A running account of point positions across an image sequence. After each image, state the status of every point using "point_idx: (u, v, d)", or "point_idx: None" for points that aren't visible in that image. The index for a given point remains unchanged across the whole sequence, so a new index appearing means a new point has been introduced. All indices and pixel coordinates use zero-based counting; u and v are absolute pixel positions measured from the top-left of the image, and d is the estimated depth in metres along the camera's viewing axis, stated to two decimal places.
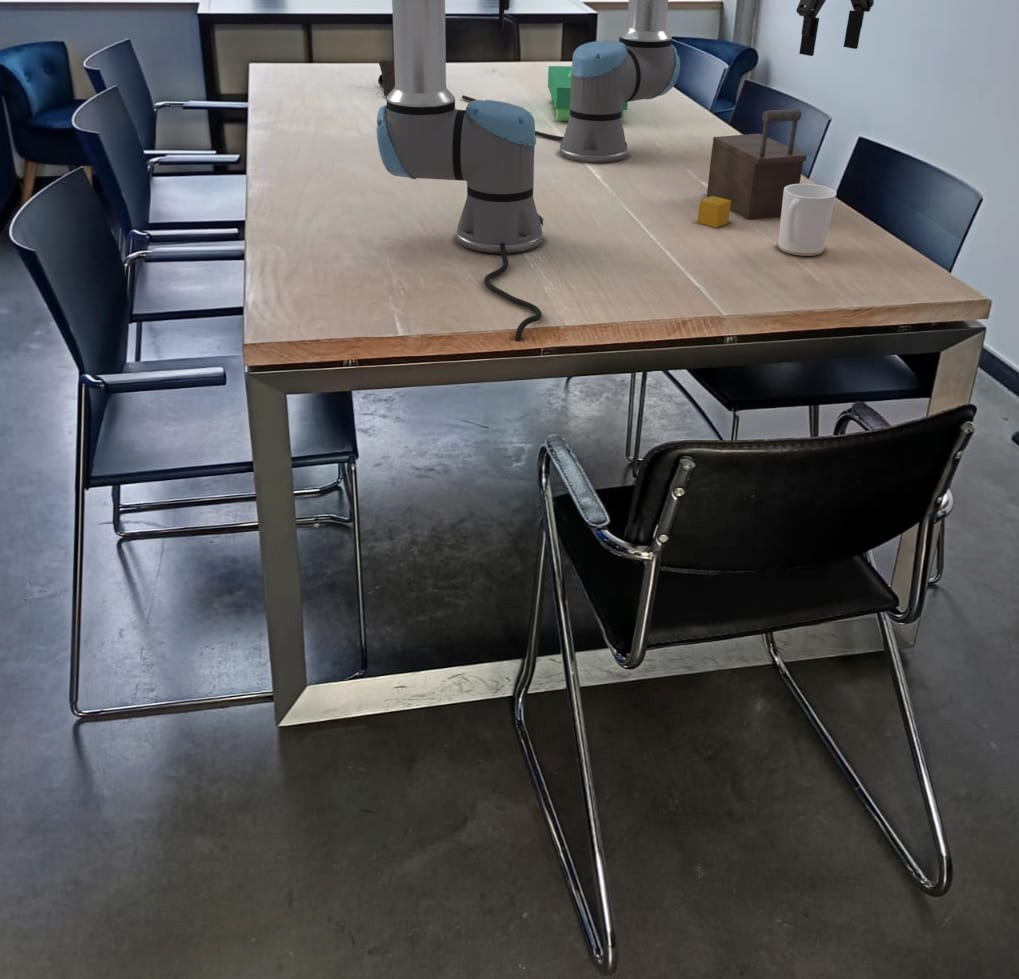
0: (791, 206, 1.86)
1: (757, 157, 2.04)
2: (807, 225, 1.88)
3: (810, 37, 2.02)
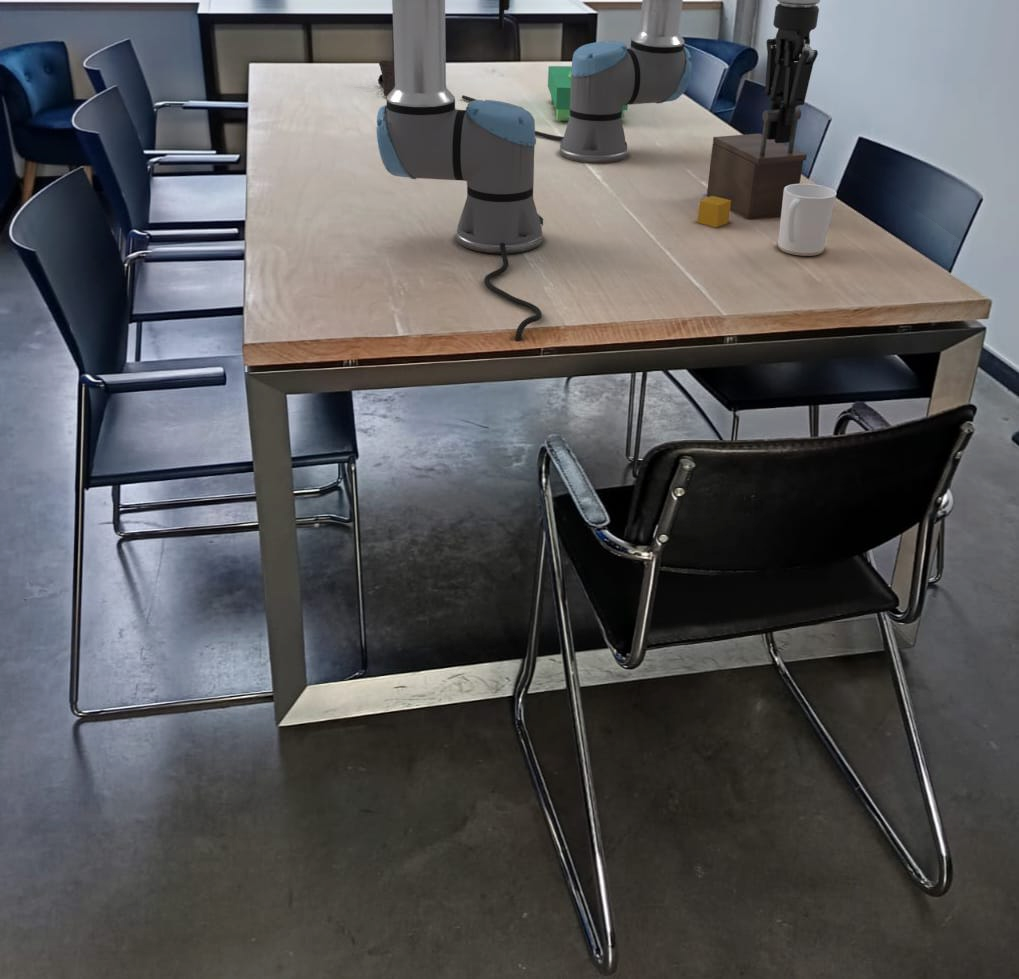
0: (791, 206, 1.86)
1: (757, 156, 2.03)
2: (807, 225, 1.88)
3: (788, 125, 2.02)
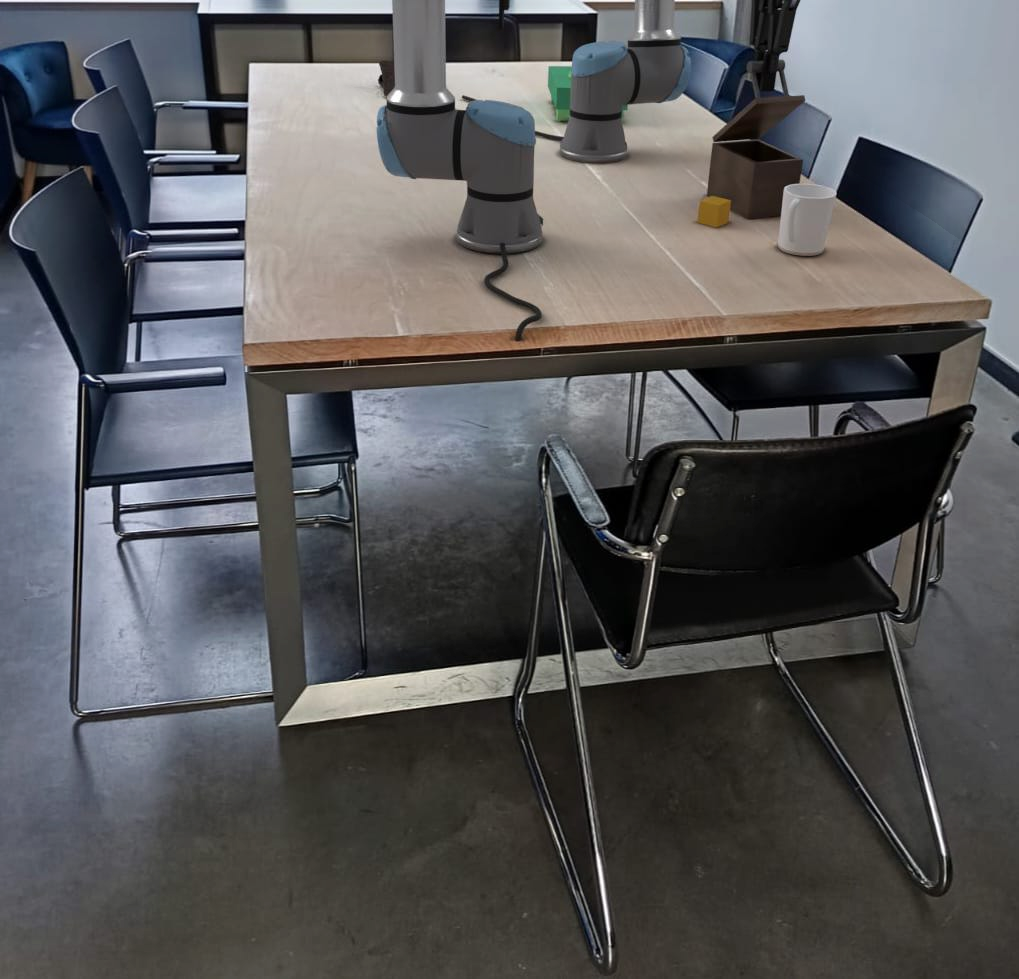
0: (791, 206, 1.86)
1: None
2: (807, 225, 1.88)
3: (773, 73, 2.04)
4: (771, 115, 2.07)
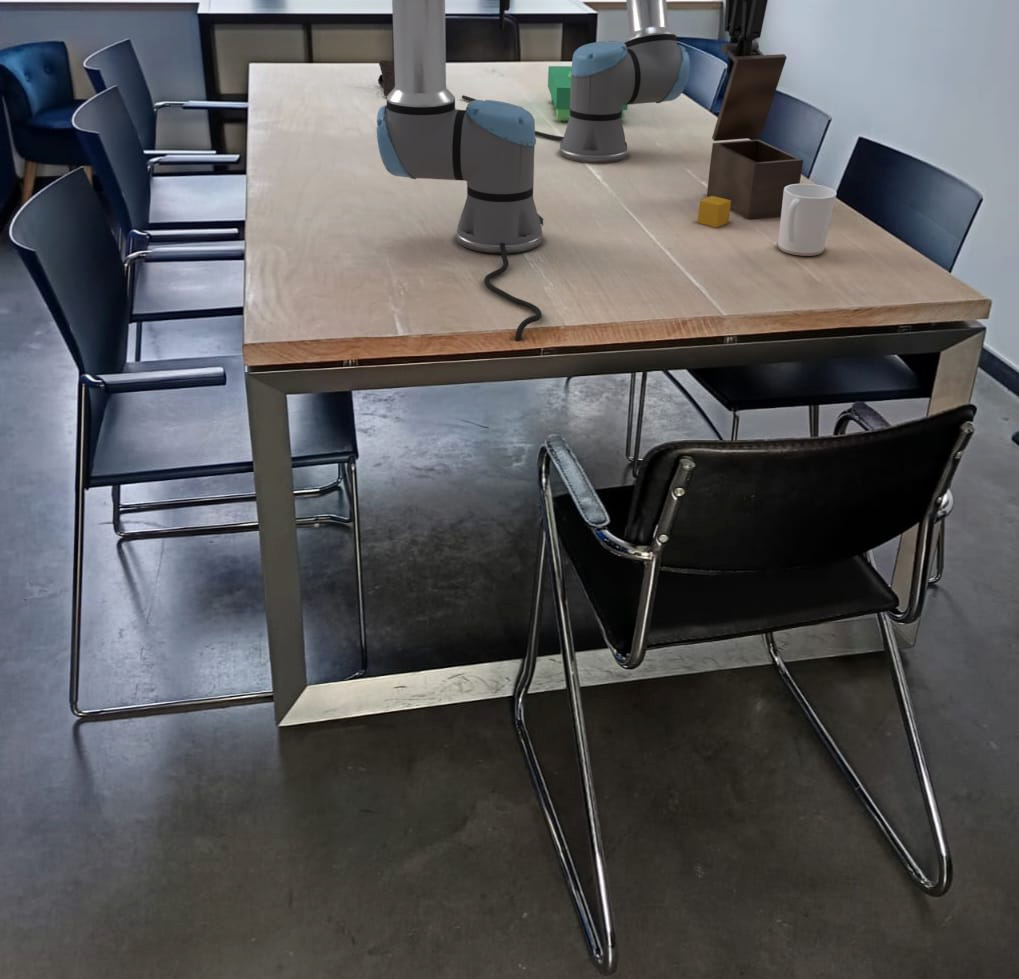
0: (791, 206, 1.86)
1: None
2: (807, 225, 1.88)
3: None
4: (759, 85, 2.10)
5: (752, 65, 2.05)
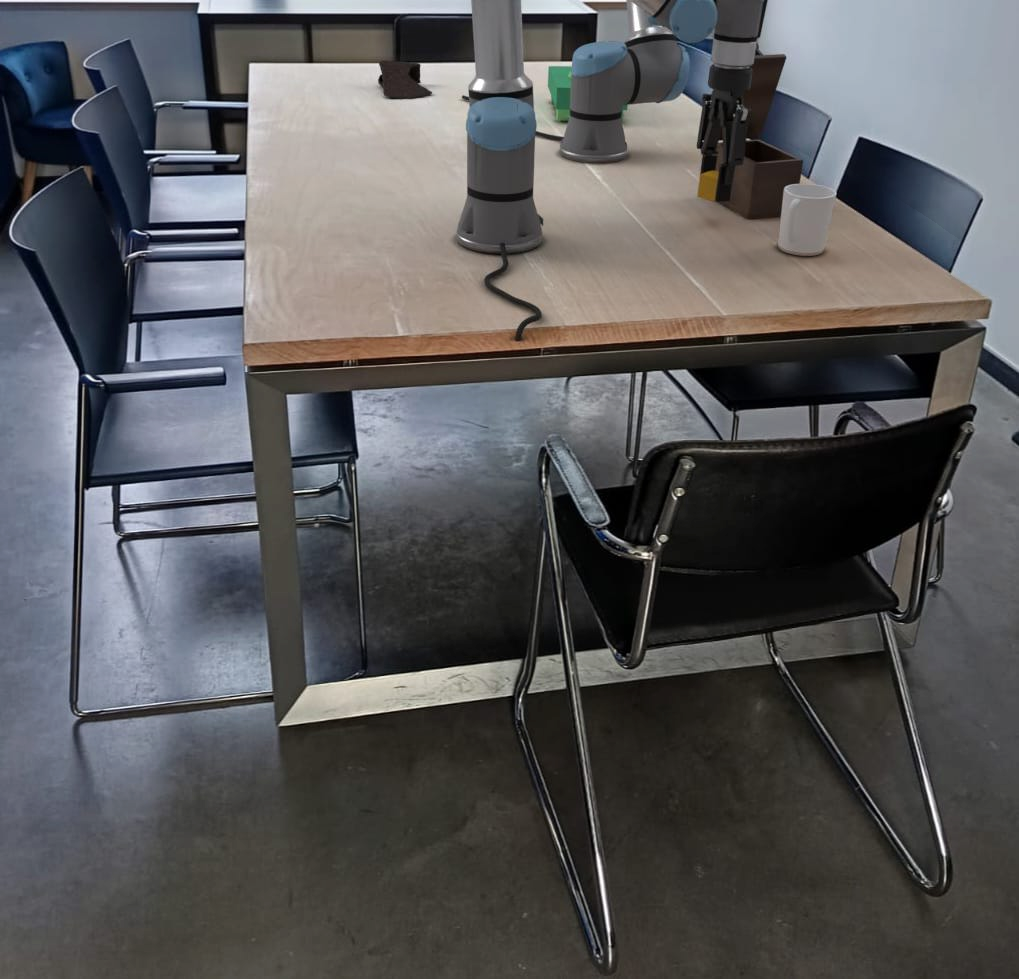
0: (791, 206, 1.86)
1: None
2: (807, 225, 1.88)
3: None
4: (759, 85, 2.10)
5: (752, 65, 2.05)
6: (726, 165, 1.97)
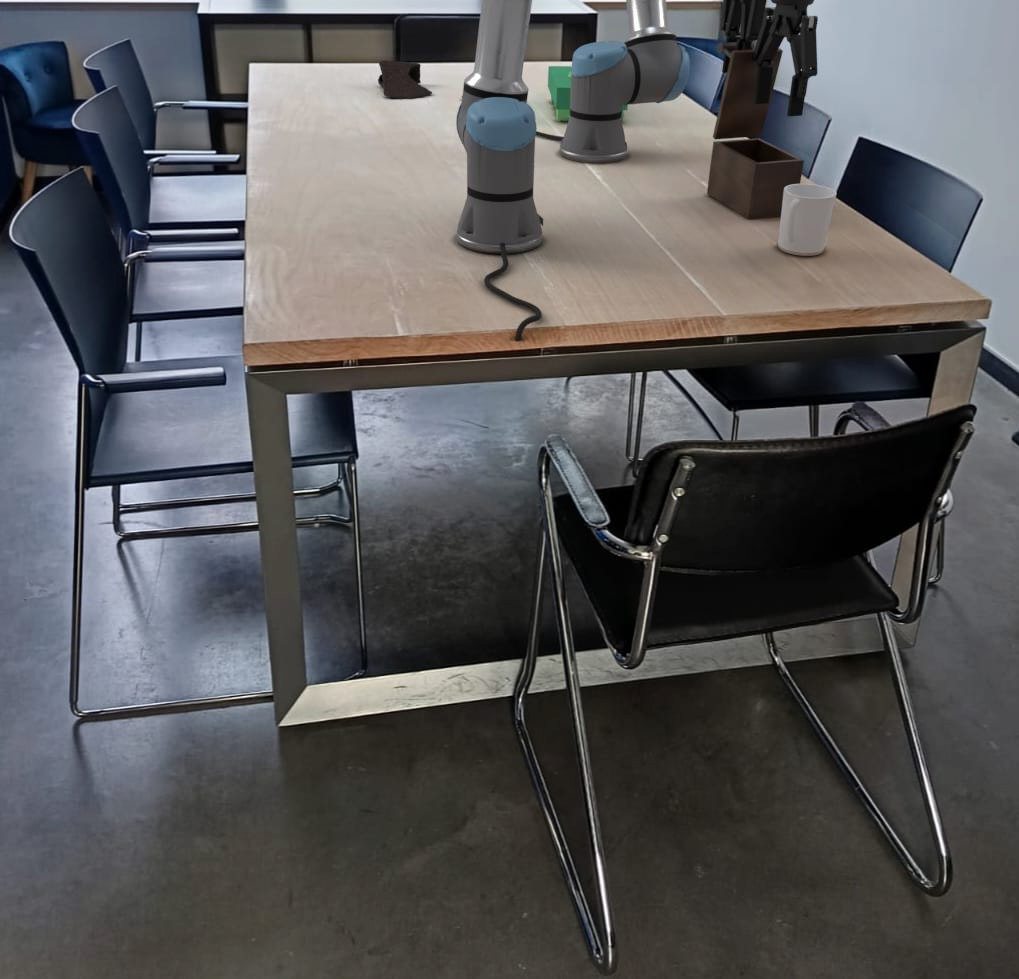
0: (791, 206, 1.86)
1: None
2: (807, 225, 1.88)
3: None
4: None
5: (749, 59, 2.06)
6: (799, 76, 1.93)
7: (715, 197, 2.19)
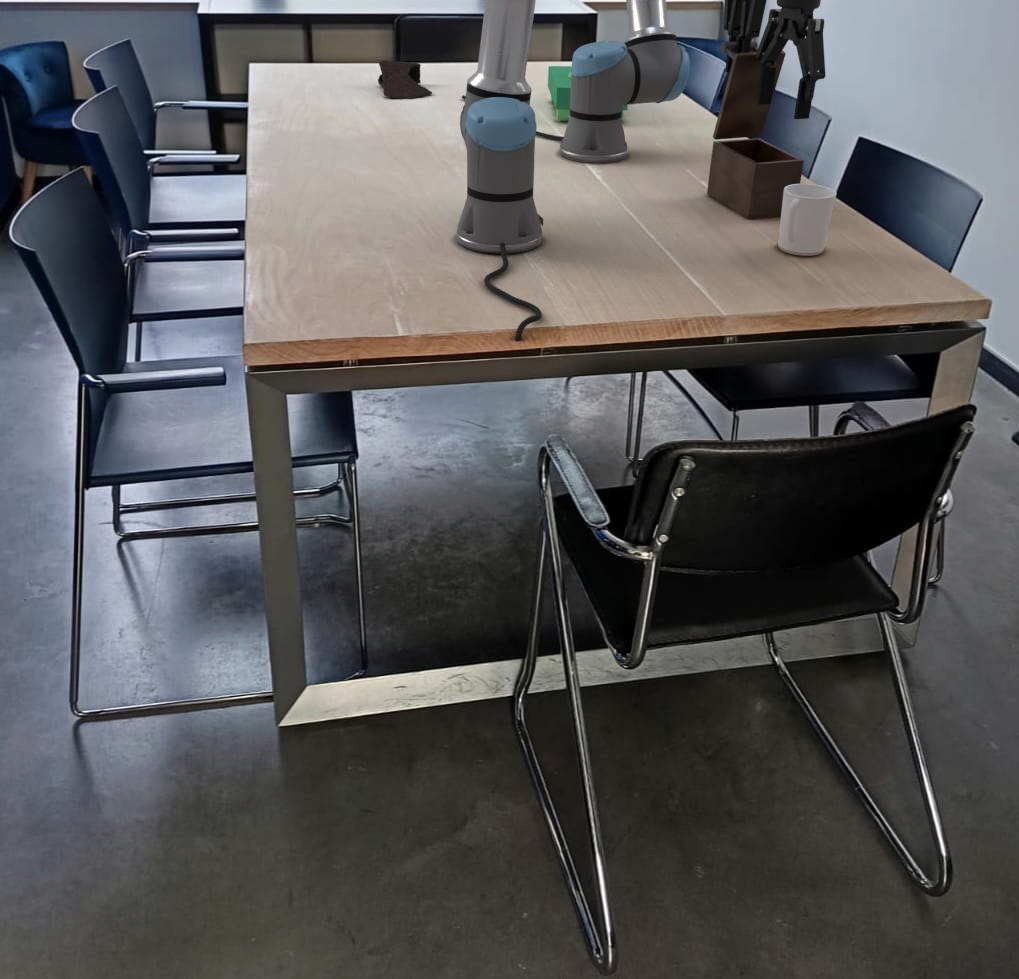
0: (791, 206, 1.86)
1: None
2: (807, 225, 1.88)
3: None
4: None
5: (751, 62, 2.05)
6: (807, 78, 1.91)
7: (715, 197, 2.19)
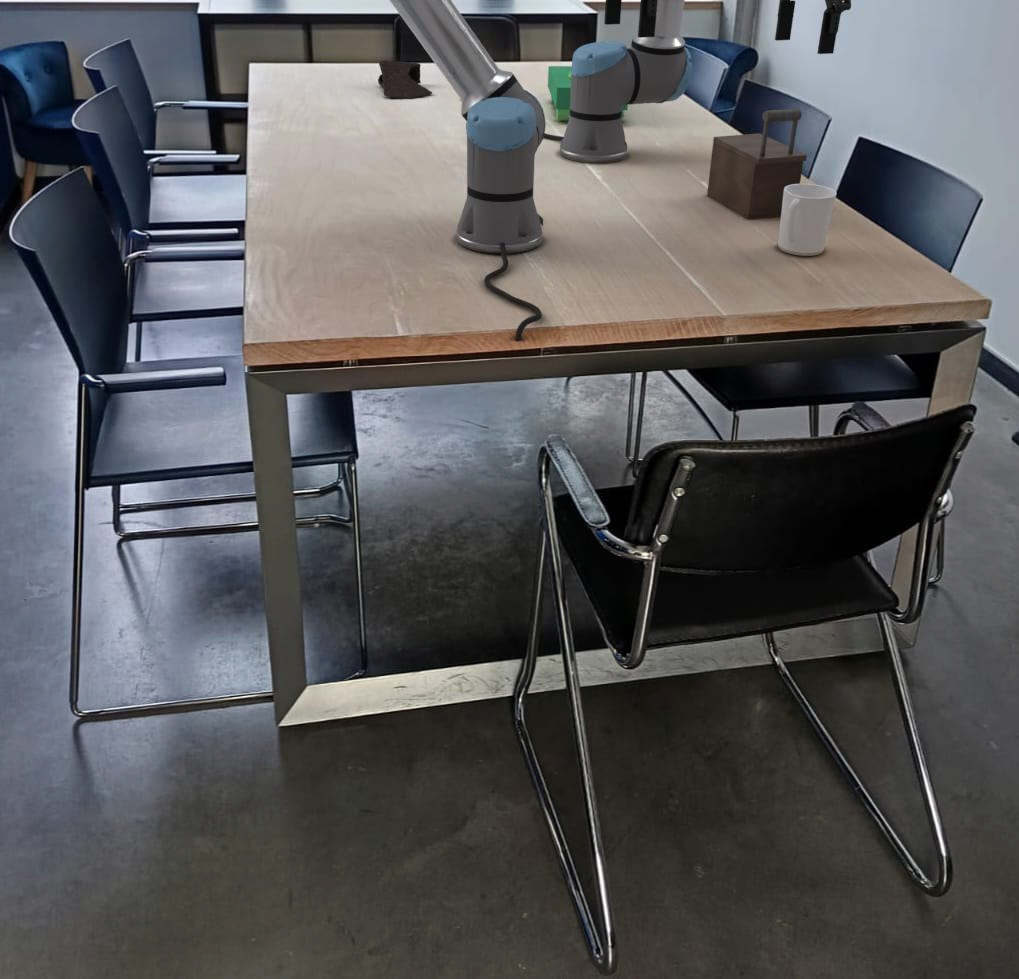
0: (791, 206, 1.86)
1: (757, 157, 2.04)
2: (807, 225, 1.88)
3: (832, 34, 1.86)
4: None
5: None
6: None
7: (715, 198, 2.19)
